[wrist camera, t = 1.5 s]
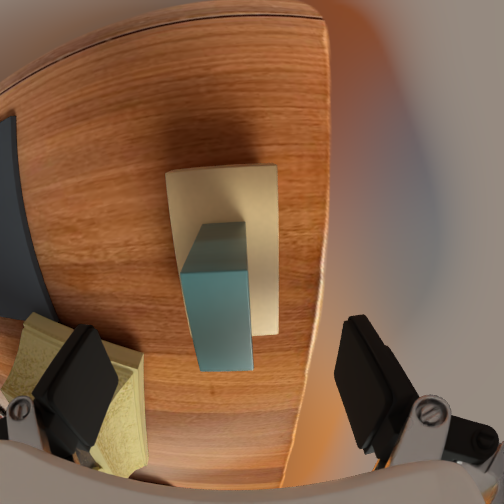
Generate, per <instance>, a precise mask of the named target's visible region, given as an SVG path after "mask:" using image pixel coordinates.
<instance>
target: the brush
mask: <svg viewBox="0 0 504 504" xmlns="http://www.w3.org/2000/svg"><path fill="white" fill-rule="evenodd" d="M165 178H166V188H167V197H168V205H169V213H170V221H171V228H172V235H173V242H174V249H175V255H176V261H177V267H178V273H179V279H180V284H181V290H182V295H183V300H184V305H185V310H186V315H187V320H188V324H189V329H190V334H191V337H192V339H193V343H194V347H195V352H196V356H197V360H198V364H199V368H200V371H248V370H253V369H254V364H253V346H252V336H259V335H274V334H278V333H279V222H278V175H277V165H276V164H274V163H256V164H236V165H221V166H208V167H197V168H186V169H177V170H172V171H169V172H167V173H165Z"/></svg>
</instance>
